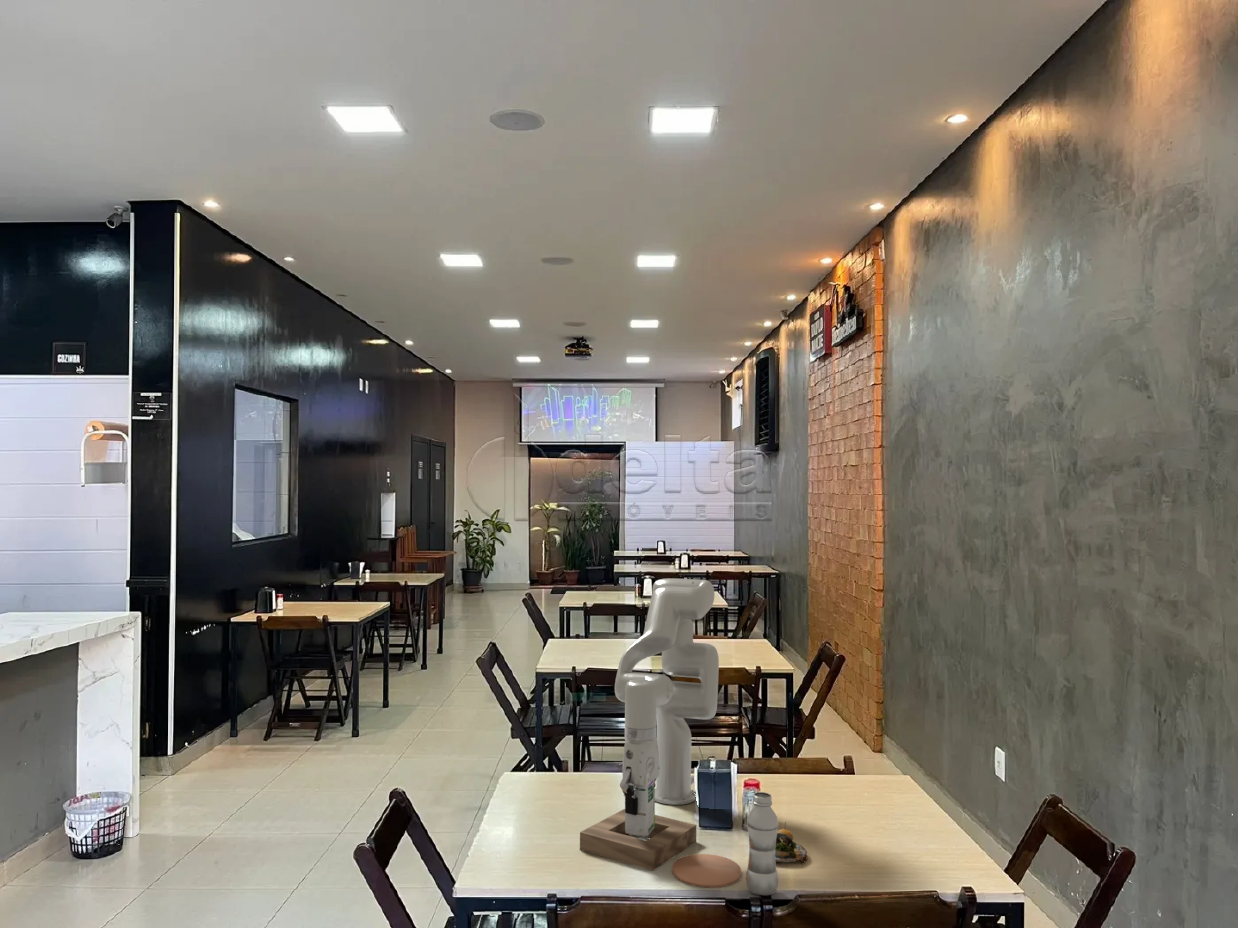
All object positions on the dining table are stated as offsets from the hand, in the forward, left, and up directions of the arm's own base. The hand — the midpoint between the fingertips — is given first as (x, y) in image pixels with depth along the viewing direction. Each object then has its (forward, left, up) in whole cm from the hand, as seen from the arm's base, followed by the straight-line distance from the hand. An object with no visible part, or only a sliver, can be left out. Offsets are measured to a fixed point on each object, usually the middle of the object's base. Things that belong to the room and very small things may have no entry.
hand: (639, 808), depth 202 cm
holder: (0, 0, -8) cm, 9 cm away
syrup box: (0, 0, -5) cm, 5 cm away
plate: (+4, +20, -8) cm, 22 cm away
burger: (-14, +30, -9) cm, 34 cm away
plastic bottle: (+6, +34, -9) cm, 36 cm away
